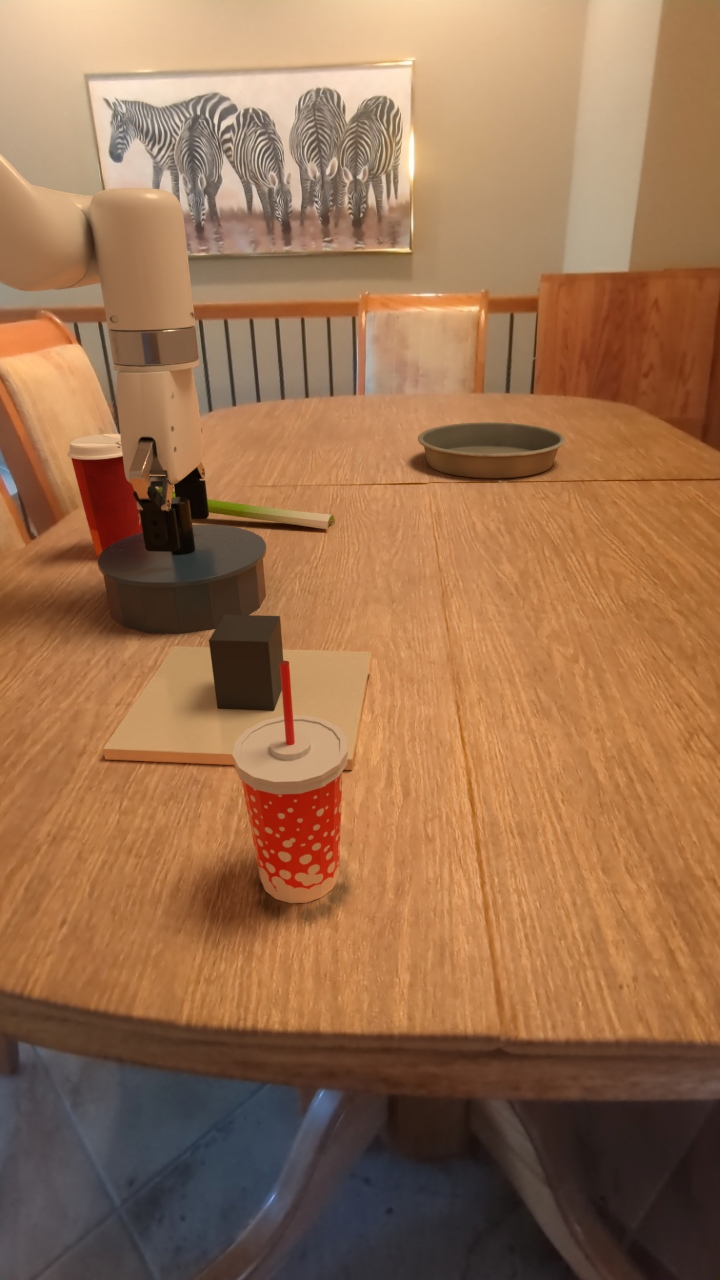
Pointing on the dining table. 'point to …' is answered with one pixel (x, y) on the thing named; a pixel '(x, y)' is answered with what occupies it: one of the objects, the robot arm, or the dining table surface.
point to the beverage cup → (294, 799)
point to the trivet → (201, 733)
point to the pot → (186, 603)
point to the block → (247, 662)
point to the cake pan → (491, 449)
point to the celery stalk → (269, 513)
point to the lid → (183, 554)
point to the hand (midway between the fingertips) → (179, 533)
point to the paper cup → (105, 489)
